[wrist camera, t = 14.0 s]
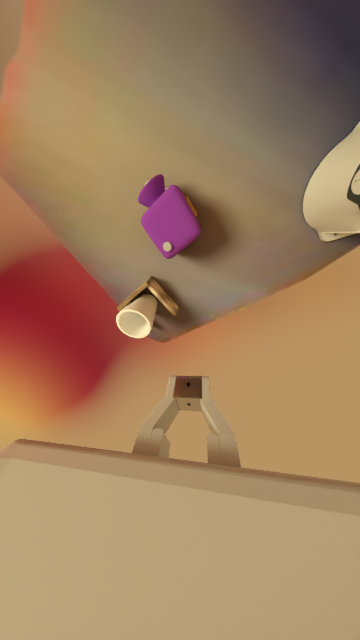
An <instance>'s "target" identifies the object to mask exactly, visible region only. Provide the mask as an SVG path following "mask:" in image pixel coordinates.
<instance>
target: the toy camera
mask: <svg viewBox="0 0 360 640" xmlns="http://www.w3.org/2000/svg"><path fill="white" fill-rule="evenodd" d="M138 202H139V203H140V204H142V205H144V206H147V207H149V209H148V210H147V211H146V212H145V214H144V215H143V217H142V219H141V223H142V226H143V228H144V229H145V231H146V232H147V233H148V235H149V236H150V238H151V239H152V241H153V242H154V243H155V245H156V246H157V248H158V249H159V250H160V252H161V253H162V254H163V256H164V257H165V258H167V259H170V258H173V257H174V256H176V255H177V254H178V253H179V252H181V251H182V250H183V249H184V248H186V247H187V246H188V245H189V244H190V243H192V242H193V241H194V240H195V239H196V238H197V237H198V236H199V235H200V233H201V227H200V225H199V222H198V220H197V219H196V216H197V213H196V211H195V209H194V207H193V205H192V204H191V202H190V200H189V198H188V196H186V197H185V196H184V195H183V193H182V191H181V190H180V188H179V187H178V186H176V185H172V186H170V187H167V188H166V190H165V185H164V177H163V175H161V174H160V175H157V176H155V177H153V178H152V179H151V180H149V181H147V182H146V183H145V185H144V187H143V189H142V191H141V192H140V194H139V198H138Z"/></svg>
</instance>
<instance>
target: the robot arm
mask: <svg viewBox="0 0 360 640" xmlns="http://www.w3.org/2000/svg"><path fill="white" fill-rule="evenodd" d="M303 214H304V217H305V220H306V222H307V223H308V224H309V225H310V226H311V227H312V228H314V229H315V230H317V232H318V234H319V237H320V239H321V241H323V242H328V241H332V240H335V239H339V238H342V237H345V236H348V235H352V234H355V233H360V122H359V123H358V124H357V126H356V127H355V129H354V130H353V131H352V132H351V133H350V134H349V135H348V136H347V137H346V138H345V139H344V140H343V141H341V142H340V143H339V144H338V145H337V146H336V147H335V148H334V149H333V150H332V151H331V152H330V153H329V154H328V155H327V156H326V157H325V158H324V160H323V161H322V162H321V163H320V165H319V166H318V168H317V169H316V171H315V172H314V174H313V176H312V178H311V180H310V182H309V184H308V186H307V189H306V192H305V195H304V200H303ZM334 233H336V234H335V235H334ZM179 410H192V411H202V414H203V415H204V418H205V420H206V422H207V423H208V425H209V428H210V430H211V432H212V433H209V434H208V435H207V448H208V463H203V462H195V461H188V460H179V459H172V458H168V457H169V449H170V443H169V441H168V439H167V437H166V435H165V433H166V432H167V430H168V428H169V427H170V425H171V423H172V422H173V420H174V418H175V417H176V415H177V413H178V412H179ZM0 640H360V483H355V482H348V481H340V480H333V479H325V478H317V477H309V476H302V475H294V474H287V473H278V472H271V471H264V470H256V469H249V468H241V466H240V459H239V454H238V448H237V442H236V436H235V434H234V432H233V430H232V429H231V427H230V426H229V424H228V423H227V421H226V420H225V418H224V417H223V415H222V413H221V412H220V410H219V409H218V407H217V406H216V404H215V403H214V401H213V400H212V399H210V384H209V376H170V378H169V383H168V387H167V392H166V397H163V399H162V400H161V401H160V402H159V403H158V405H157V406H156V407H155V408H154V410H153V411H152V412H151V413H150V415H149V416H148V417H147V418H146V419H145V421H144V422H143V423H142V424H141V425H140V428H139V431H138V435H137V438H136V441H135V445H134V448H133V451H132V453H126V452H119V451H111V450H103V449H96V448H88V447H81V446H73V445H65V444H57V443H50V442H42V441H35V440H27V439H18V440H16V441H14V442H12V443H10V444H9V445H7V446H6V447H4V448H3V449H1V450H0Z"/></svg>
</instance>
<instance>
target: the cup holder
mask: <svg viewBox="0 0 360 640" xmlns="http://www.w3.org/2000/svg"><path fill="white" fill-rule="evenodd" d="M146 287H148V289H149V290H150V291H151V292H152V293H153V294H154V295H155V296H156V297H157V298H158V299H159V301H160V302H161V303H162V304H163V305H164V306H165V307H166V308H167V309H168V310H169V311H170V313H171V314H172V315H173V316H175V315H177V311H178V306H177V305H176V304H175V302H174V301H173V300H172V299H171V298H170V297H169V296H168V294H167V293H166V292H165V291H164V290H163V289H162V287H161V286H160V285H159V284H158V283H157V282H156V281H155V279H154V278H153V277H150V278H149V279H148V280H147V281H146V282H145V283H144V284H142V285H141V286H140V287H139V288H138V289H137V290H136V291H134V292H133V293H132V294H131V295H130V296H129V297H128V298H126V299H125V300H124V301H123V302H122V303H121V304H120V305H119V306H118V307H117V309H118V310H122V309H123V308H124V307H126V306H128V305H130V304H131V303H130V302H129V301H131V300H132V299H133V298H134V297H135V296H136V295H138V294H139V293H140V292H141V291H142V290H144V289H145V288H146Z"/></svg>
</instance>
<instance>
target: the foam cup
mask: <svg viewBox="0 0 360 640" xmlns="http://www.w3.org/2000/svg"><path fill="white" fill-rule="evenodd" d="M157 305H158V304H157V300H156V298H155V297H154V296H152V295H150V294H143V295H142V296H141V297H139V298H138V299H136V300H135V301H134V302H132V303H131V304H130V305H128V306H126V307H124V308H123V309H122V310H121V311H120V312H119V313H118V314H117V318H116V322H117V325H118V327H119V328H120V330H121V331H122V332H123V333H125V334H126V335H128V336H130V337H135V338H143V337H145V336H147V335H148V334H149V332H150V330H151V328H152V326H153V321H154V317H155V313H156V309H157Z"/></svg>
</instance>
